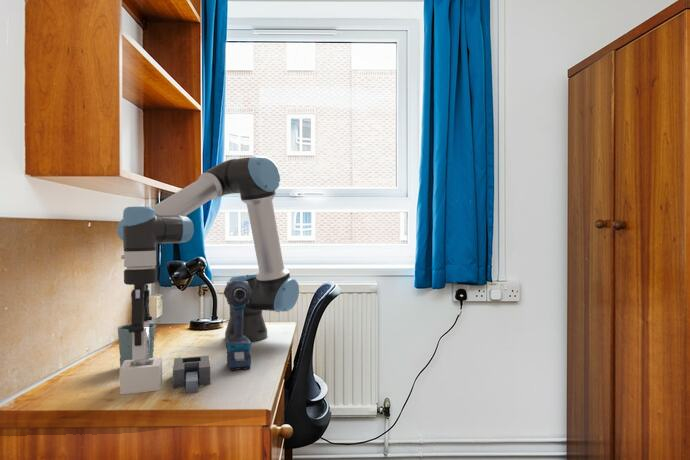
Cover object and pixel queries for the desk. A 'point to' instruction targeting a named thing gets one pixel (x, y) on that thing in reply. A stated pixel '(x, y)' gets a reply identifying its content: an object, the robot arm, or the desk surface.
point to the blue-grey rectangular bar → (191, 382)
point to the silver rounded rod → (145, 361)
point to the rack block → (140, 376)
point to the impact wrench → (238, 325)
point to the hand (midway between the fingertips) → (141, 352)
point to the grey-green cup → (126, 342)
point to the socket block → (191, 370)
